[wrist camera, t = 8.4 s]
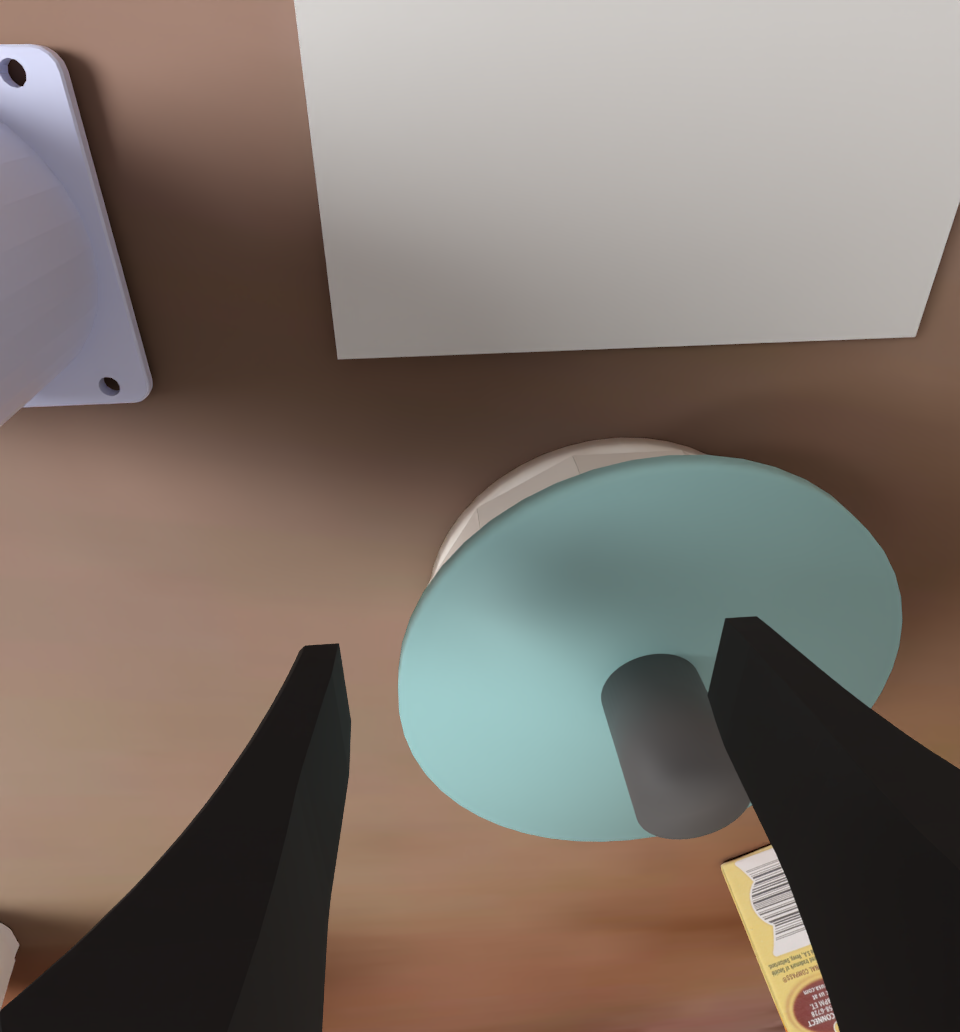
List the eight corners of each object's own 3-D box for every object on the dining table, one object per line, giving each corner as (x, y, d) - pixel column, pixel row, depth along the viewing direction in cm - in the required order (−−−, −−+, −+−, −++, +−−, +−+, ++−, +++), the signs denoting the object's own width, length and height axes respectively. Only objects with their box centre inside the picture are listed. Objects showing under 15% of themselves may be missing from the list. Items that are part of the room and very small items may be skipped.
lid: (390, 823, 23) (387, 966, 20) (410, 439, 16) (411, 553, 12) (790, 816, 25) (855, 947, 21) (974, 468, 18) (1124, 575, 14)
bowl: (436, 724, 28) (441, 829, 24) (419, 446, 21) (422, 531, 17) (737, 702, 28) (788, 800, 25) (810, 428, 22) (894, 504, 18)
